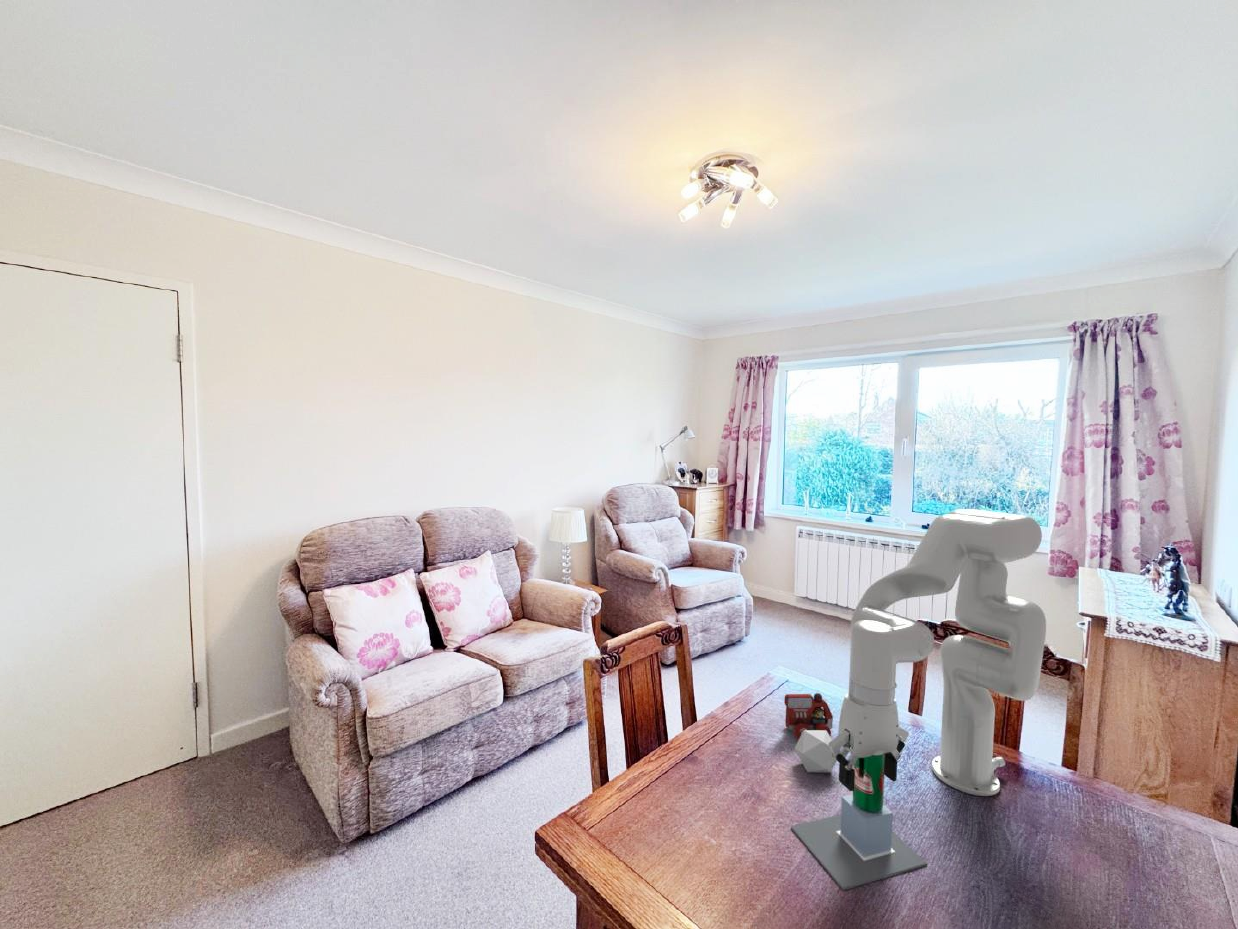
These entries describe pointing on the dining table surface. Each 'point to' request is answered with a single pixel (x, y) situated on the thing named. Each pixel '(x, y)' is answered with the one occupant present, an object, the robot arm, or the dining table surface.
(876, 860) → the mat
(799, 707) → the toy fire truck
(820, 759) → the die
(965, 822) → the dining table surface
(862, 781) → the soda can
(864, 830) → the blue block
